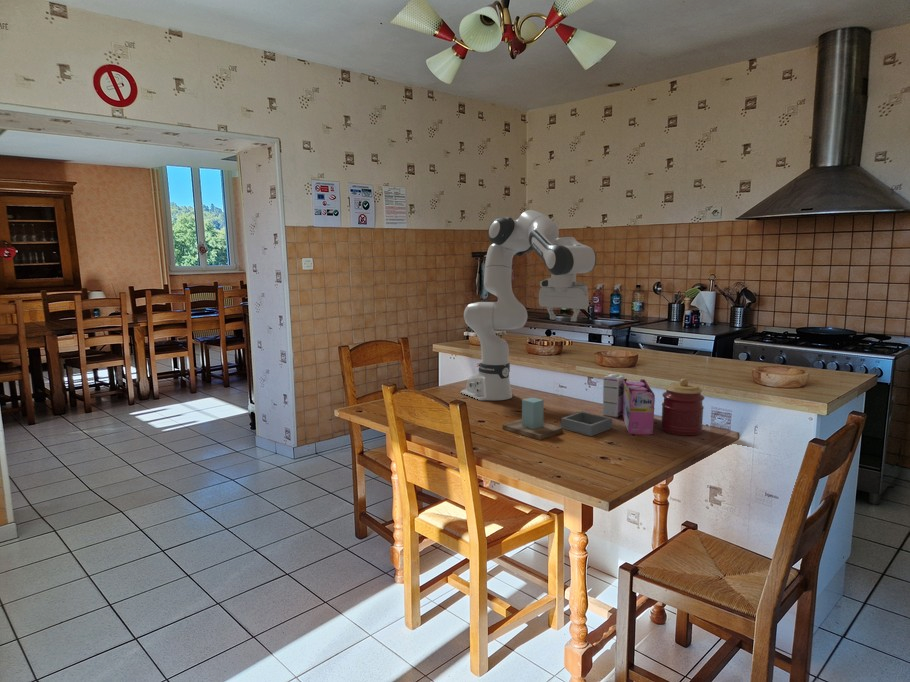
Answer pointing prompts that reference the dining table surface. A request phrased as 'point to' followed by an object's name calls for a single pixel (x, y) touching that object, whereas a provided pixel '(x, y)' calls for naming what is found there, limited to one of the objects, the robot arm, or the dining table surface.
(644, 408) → the gum box
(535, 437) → the walnut board
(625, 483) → the dining table surface
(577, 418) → the parts bin
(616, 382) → the syrup box
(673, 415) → the canister
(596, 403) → the dining table surface
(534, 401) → the teal block
